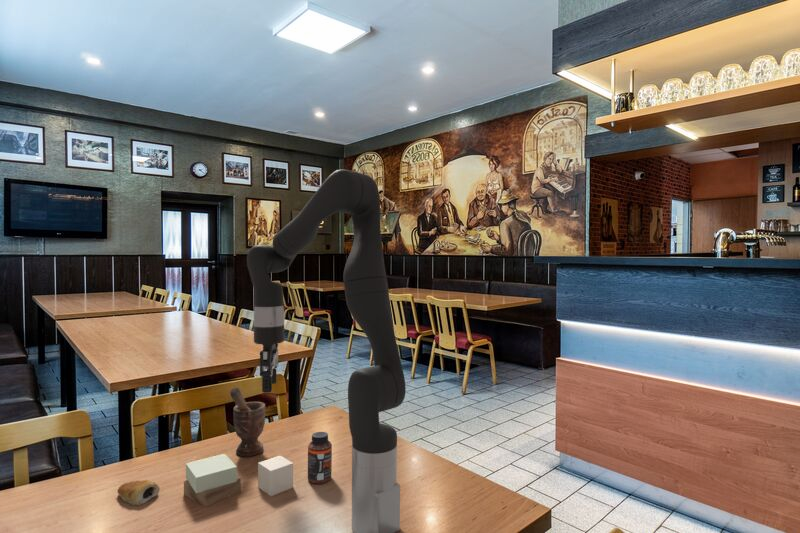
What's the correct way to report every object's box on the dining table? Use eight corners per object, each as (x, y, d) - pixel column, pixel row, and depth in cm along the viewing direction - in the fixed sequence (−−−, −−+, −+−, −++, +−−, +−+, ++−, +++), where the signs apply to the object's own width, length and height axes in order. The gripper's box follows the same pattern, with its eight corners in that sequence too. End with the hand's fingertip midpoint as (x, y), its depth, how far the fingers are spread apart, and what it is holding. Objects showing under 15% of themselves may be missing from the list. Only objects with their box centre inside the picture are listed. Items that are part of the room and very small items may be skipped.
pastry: (108, 499, 107) (108, 482, 107) (135, 486, 113) (135, 470, 113) (137, 508, 103) (137, 491, 103) (163, 494, 109) (163, 478, 109)
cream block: (293, 487, 113) (293, 463, 113) (270, 496, 109) (270, 471, 108) (280, 479, 117) (280, 455, 117) (258, 487, 113) (258, 462, 113)
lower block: (240, 491, 111) (240, 477, 111) (206, 508, 104) (206, 493, 104) (218, 481, 116) (218, 467, 116) (183, 496, 109) (183, 481, 109)
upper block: (236, 481, 109) (236, 466, 109) (196, 493, 104) (195, 477, 103) (224, 467, 116) (224, 453, 116) (185, 477, 111) (185, 463, 111)
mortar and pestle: (258, 462, 126) (258, 389, 125) (226, 463, 125) (226, 389, 125) (267, 445, 137) (268, 377, 137) (237, 446, 137) (238, 378, 136)
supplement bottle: (326, 486, 113) (326, 439, 113) (303, 483, 115) (303, 437, 114) (334, 474, 119) (335, 430, 119) (313, 472, 121) (313, 428, 120)
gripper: (280, 327, 112) (281, 394, 112) (287, 320, 126) (287, 380, 126) (248, 328, 111) (249, 396, 111) (258, 320, 125) (259, 381, 125)
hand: (269, 387), depth 119 cm, fingers open, 8 cm apart
